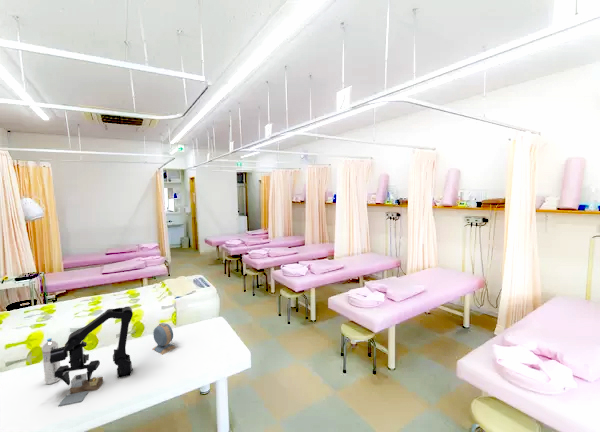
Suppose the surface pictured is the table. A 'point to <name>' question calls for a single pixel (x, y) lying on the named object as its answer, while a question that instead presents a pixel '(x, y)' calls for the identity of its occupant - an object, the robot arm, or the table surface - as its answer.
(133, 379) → the table surface
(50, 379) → the water bottle
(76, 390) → the plane body
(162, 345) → the alarm clock
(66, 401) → the mat
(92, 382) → the lever
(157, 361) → the table surface
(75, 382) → the lever cap
